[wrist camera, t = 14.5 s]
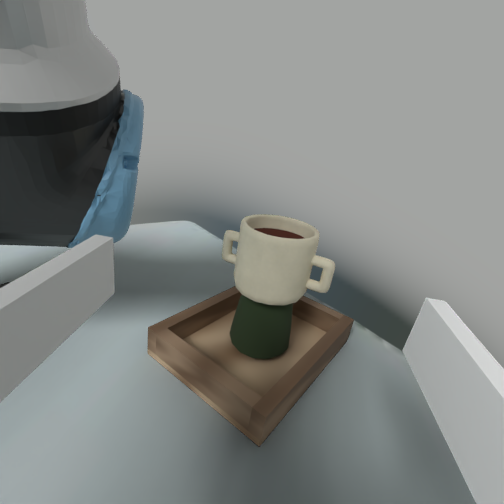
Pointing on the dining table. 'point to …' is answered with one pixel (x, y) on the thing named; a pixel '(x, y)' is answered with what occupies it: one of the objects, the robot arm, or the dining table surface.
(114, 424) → the dining table surface
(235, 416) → the wooden tray
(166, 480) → the dining table surface
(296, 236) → the character mug
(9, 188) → the robot arm
